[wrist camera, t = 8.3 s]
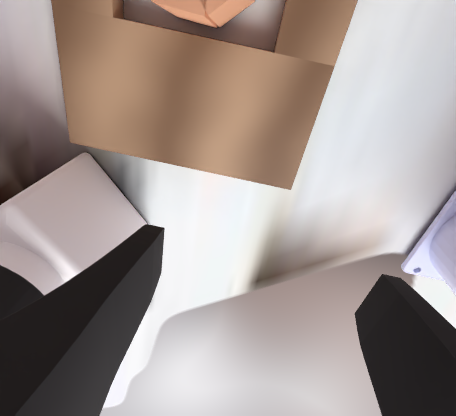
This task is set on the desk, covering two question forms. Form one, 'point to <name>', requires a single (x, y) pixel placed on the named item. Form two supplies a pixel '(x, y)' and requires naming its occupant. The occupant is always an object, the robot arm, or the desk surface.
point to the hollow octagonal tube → (205, 10)
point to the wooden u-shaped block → (198, 88)
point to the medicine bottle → (59, 230)
